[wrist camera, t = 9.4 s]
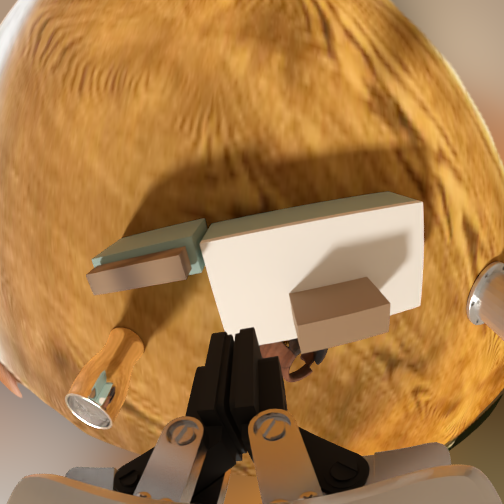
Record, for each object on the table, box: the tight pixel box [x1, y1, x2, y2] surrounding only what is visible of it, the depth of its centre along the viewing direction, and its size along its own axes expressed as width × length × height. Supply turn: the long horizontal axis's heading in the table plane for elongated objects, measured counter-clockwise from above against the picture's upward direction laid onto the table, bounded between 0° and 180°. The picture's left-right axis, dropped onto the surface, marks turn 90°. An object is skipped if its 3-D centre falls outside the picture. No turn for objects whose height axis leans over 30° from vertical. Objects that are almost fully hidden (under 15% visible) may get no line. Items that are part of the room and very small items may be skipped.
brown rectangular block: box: [86, 246, 192, 295], centre depth 24 cm, size 10×2×2 cm, turn 102°
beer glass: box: [65, 327, 144, 429], centre depth 31 cm, size 7×7×15 cm
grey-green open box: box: [92, 191, 417, 275], centre depth 30 cm, size 34×13×8 cm, turn 102°
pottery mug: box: [259, 338, 328, 382], centre depth 35 cm, size 12×10×8 cm
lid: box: [200, 200, 424, 354], centre depth 24 cm, size 22×12×8 cm, turn 102°
